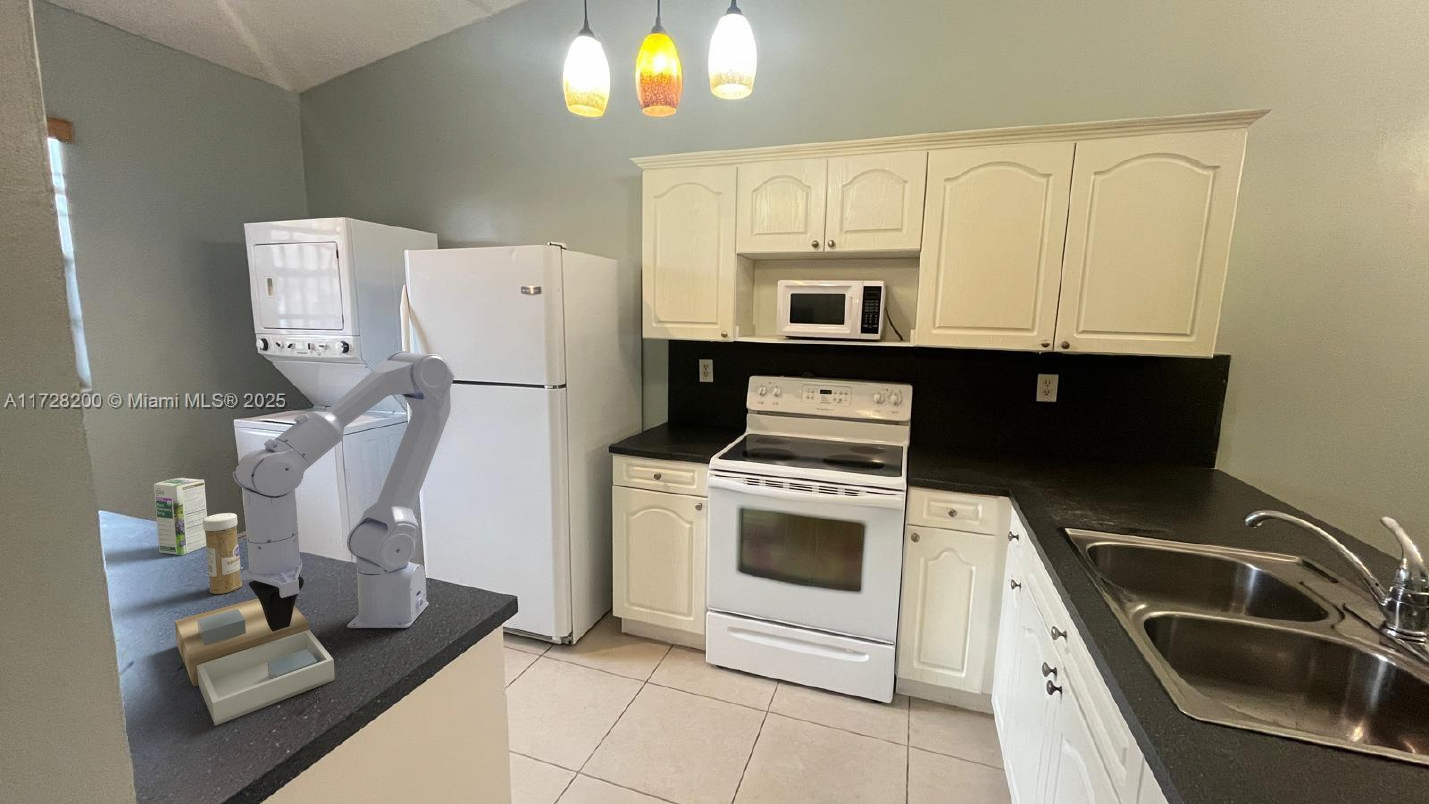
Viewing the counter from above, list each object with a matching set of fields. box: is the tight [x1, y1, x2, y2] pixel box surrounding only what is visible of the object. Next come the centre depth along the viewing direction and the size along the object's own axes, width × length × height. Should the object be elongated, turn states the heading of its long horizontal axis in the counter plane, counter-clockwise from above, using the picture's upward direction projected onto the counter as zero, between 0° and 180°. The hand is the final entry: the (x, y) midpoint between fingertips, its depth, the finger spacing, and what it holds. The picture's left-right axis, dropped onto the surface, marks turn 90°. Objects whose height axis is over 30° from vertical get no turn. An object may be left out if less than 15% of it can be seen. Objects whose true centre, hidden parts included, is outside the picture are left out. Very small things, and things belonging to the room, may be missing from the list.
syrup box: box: [153, 477, 208, 556], centre depth 118 cm, size 6×6×14 cm
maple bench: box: [174, 597, 310, 688], centre depth 85 cm, size 14×13×4 cm
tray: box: [197, 629, 336, 727], centre depth 77 cm, size 11×12×3 cm
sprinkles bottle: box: [203, 512, 243, 595], centre depth 102 cm, size 5×5×14 cm
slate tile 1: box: [197, 609, 246, 645], centre depth 82 cm, size 4×4×2 cm
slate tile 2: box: [267, 649, 317, 679], centre depth 78 cm, size 4×4×2 cm
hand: (279, 627), depth 82 cm, fingers closed
